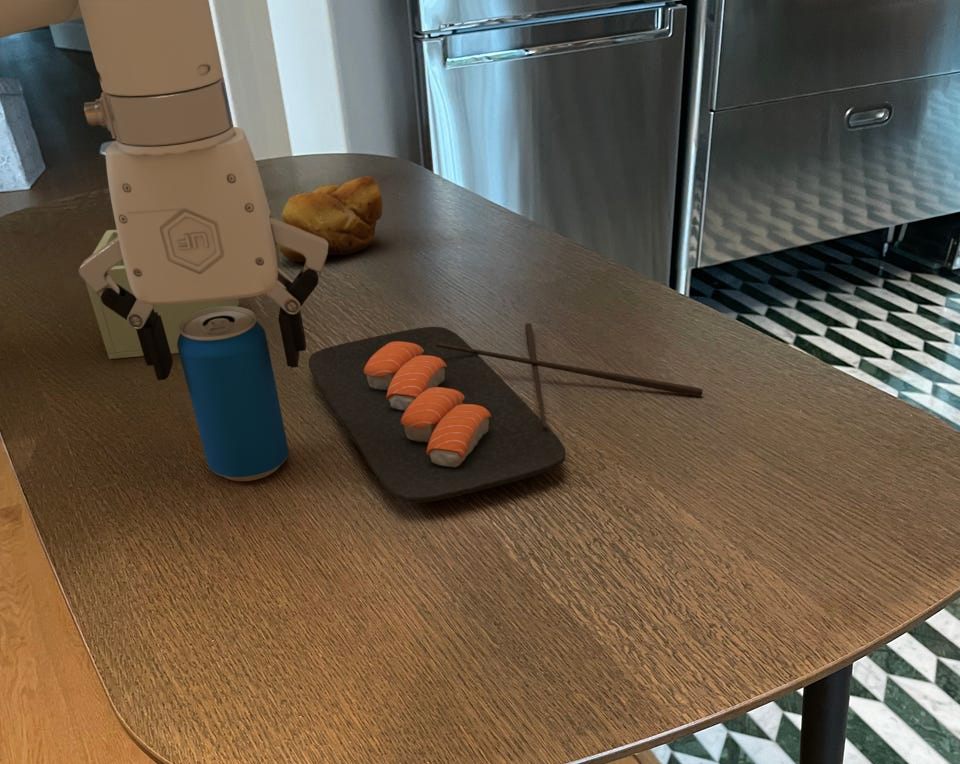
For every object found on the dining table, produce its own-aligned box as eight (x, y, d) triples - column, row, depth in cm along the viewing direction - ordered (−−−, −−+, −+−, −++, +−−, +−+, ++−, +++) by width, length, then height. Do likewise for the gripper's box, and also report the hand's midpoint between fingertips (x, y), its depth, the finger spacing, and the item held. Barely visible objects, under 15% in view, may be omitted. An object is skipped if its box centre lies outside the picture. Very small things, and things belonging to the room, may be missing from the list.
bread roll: (298, 275, 113) (286, 201, 107) (261, 253, 119) (247, 182, 114) (396, 247, 118) (388, 175, 113) (355, 227, 124) (346, 158, 119)
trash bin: (109, 359, 98) (81, 271, 92) (129, 312, 107) (106, 230, 101) (227, 349, 98) (208, 261, 93) (239, 303, 107) (221, 220, 102)
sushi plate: (302, 371, 94) (295, 332, 91) (590, 309, 101) (591, 271, 99) (400, 529, 73) (394, 483, 70) (754, 435, 80) (760, 391, 78)
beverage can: (289, 440, 84) (261, 299, 76) (291, 480, 79) (262, 333, 71) (211, 450, 83) (175, 309, 75) (208, 491, 78) (169, 344, 70)
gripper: (20, 142, 61) (104, 400, 72) (303, 117, 62) (344, 377, 73) (49, 113, 67) (123, 356, 78) (308, 91, 67) (345, 335, 78)
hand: (230, 366), depth 75 cm, fingers open, 9 cm apart
